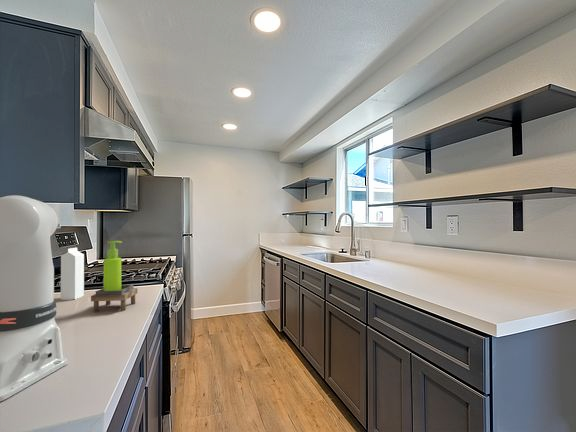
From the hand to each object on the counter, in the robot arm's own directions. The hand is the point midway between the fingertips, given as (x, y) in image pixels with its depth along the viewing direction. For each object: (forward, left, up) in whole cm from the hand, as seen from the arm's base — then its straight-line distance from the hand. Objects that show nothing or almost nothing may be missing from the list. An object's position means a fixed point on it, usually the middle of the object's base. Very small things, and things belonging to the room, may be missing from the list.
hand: (50, 226), depth 105 cm
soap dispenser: (+5, -19, -26) cm, 33 cm away
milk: (+24, +7, -32) cm, 41 cm away
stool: (+7, -19, -32) cm, 38 cm away
